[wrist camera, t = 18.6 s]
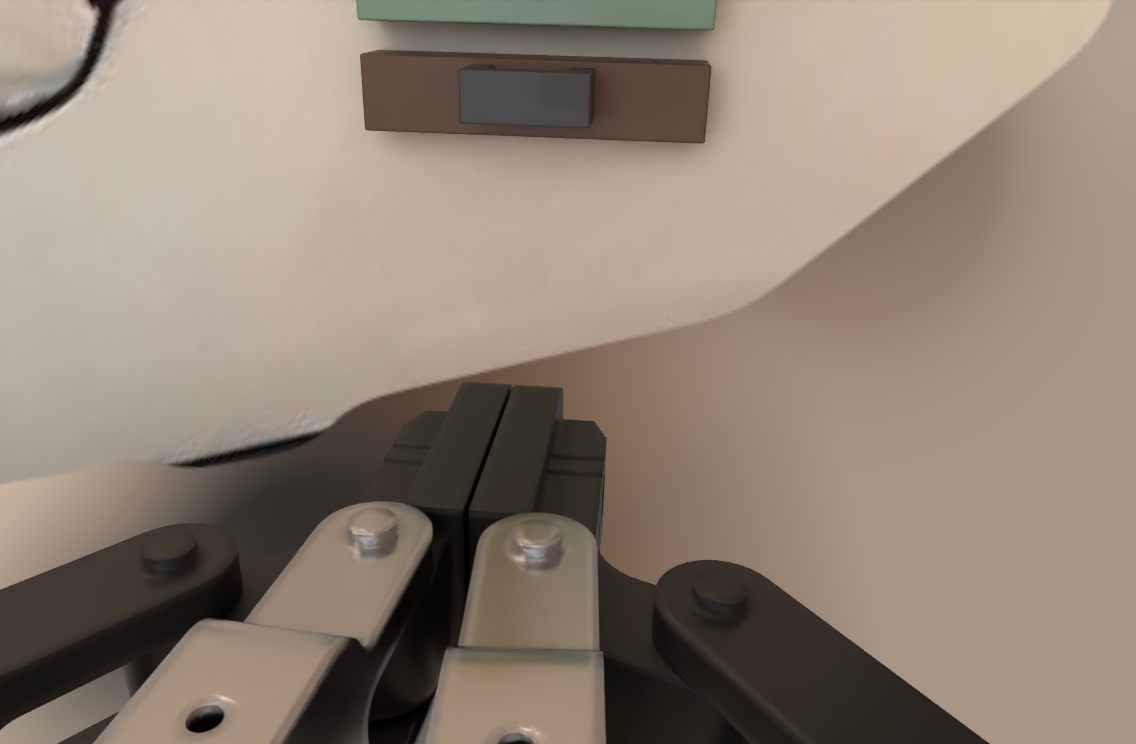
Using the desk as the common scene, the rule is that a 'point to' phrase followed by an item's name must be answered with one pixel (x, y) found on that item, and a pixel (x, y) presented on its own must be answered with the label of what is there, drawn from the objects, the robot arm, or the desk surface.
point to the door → (539, 75)
